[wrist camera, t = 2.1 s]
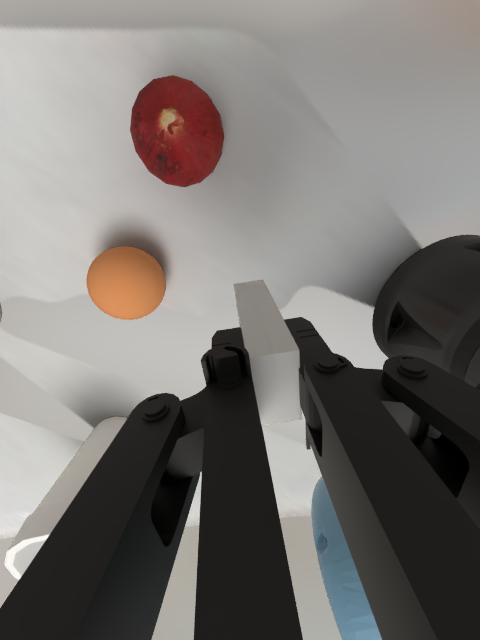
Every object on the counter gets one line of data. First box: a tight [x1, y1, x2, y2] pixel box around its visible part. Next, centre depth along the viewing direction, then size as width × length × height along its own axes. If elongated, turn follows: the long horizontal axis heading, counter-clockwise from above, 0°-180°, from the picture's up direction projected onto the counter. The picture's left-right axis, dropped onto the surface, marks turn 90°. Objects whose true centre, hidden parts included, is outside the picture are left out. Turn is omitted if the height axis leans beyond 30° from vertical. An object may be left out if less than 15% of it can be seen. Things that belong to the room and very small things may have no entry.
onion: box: [130, 75, 224, 187], centre depth 17 cm, size 6×6×8 cm
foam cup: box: [5, 416, 127, 580], centre depth 28 cm, size 10×9×13 cm
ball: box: [87, 246, 166, 320], centre depth 22 cm, size 6×6×6 cm
